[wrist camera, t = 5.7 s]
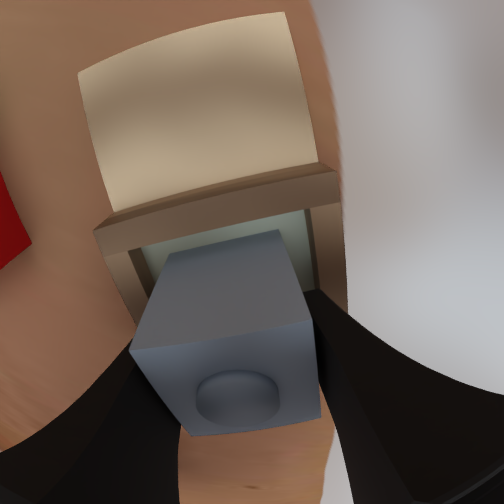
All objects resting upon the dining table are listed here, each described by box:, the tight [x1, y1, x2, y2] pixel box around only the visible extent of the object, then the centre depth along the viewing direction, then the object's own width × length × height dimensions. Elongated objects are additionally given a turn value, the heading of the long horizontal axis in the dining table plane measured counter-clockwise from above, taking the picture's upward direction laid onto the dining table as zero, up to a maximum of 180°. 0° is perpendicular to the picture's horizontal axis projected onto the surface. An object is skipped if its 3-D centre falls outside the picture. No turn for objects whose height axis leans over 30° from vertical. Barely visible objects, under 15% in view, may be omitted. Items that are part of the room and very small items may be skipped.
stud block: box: [129, 229, 321, 436], centre depth 8 cm, size 4×4×5 cm
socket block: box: [78, 12, 348, 327], centre depth 10 cm, size 14×8×3 cm, turn 12°
